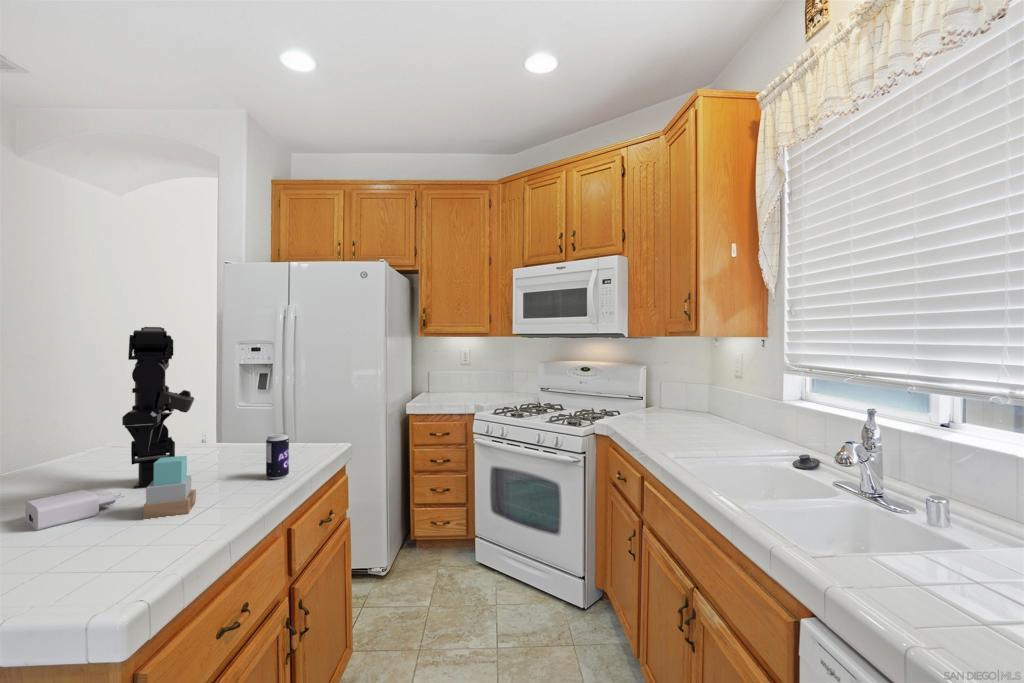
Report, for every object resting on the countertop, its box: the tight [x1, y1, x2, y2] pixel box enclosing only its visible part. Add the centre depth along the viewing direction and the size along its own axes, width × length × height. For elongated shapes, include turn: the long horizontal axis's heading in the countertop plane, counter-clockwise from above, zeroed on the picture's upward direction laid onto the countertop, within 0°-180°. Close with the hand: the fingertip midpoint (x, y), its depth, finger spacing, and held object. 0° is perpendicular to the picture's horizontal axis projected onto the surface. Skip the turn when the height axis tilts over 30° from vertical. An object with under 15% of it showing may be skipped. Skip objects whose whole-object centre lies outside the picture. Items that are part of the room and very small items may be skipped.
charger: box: [25, 489, 125, 531], centre depth 100 cm, size 5×9×15 cm
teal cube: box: [154, 455, 188, 486], centre depth 102 cm, size 5×5×5 cm
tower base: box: [142, 488, 197, 520], centre depth 102 cm, size 8×8×4 cm
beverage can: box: [265, 432, 290, 480], centre depth 127 cm, size 6×6×12 cm
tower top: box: [145, 475, 192, 505], centre depth 102 cm, size 7×7×4 cm
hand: (150, 447), depth 109 cm, fingers open, 9 cm apart
